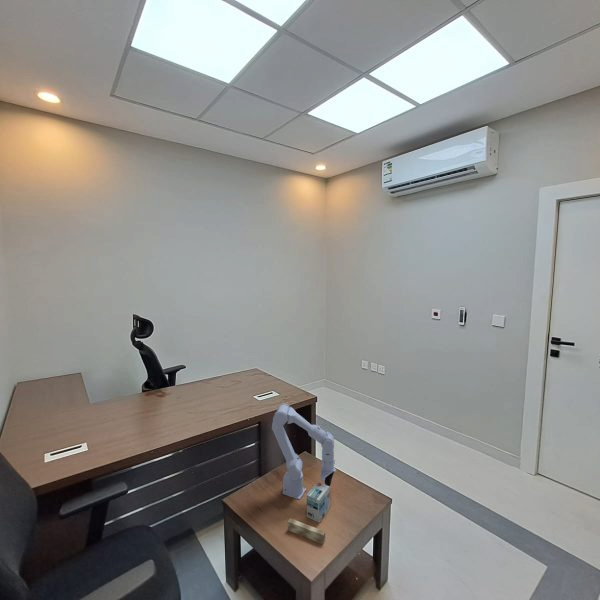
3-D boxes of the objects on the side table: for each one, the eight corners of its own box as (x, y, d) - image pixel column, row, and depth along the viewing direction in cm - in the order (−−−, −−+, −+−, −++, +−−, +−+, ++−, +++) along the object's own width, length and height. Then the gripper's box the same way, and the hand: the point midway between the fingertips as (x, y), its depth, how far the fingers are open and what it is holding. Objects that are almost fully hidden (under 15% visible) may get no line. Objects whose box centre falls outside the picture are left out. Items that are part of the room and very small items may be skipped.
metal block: (288, 530, 134) (287, 521, 133) (290, 526, 135) (290, 518, 135) (323, 544, 127) (323, 535, 126) (325, 540, 129) (325, 531, 128)
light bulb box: (319, 523, 137) (319, 500, 136) (306, 517, 140) (305, 494, 139) (330, 507, 146) (330, 486, 145) (317, 501, 149) (317, 480, 148)
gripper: (330, 470, 144) (330, 497, 145) (340, 453, 157) (340, 478, 158) (316, 466, 147) (316, 493, 148) (327, 449, 160) (327, 474, 161)
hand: (327, 485), depth 153 cm, fingers closed
